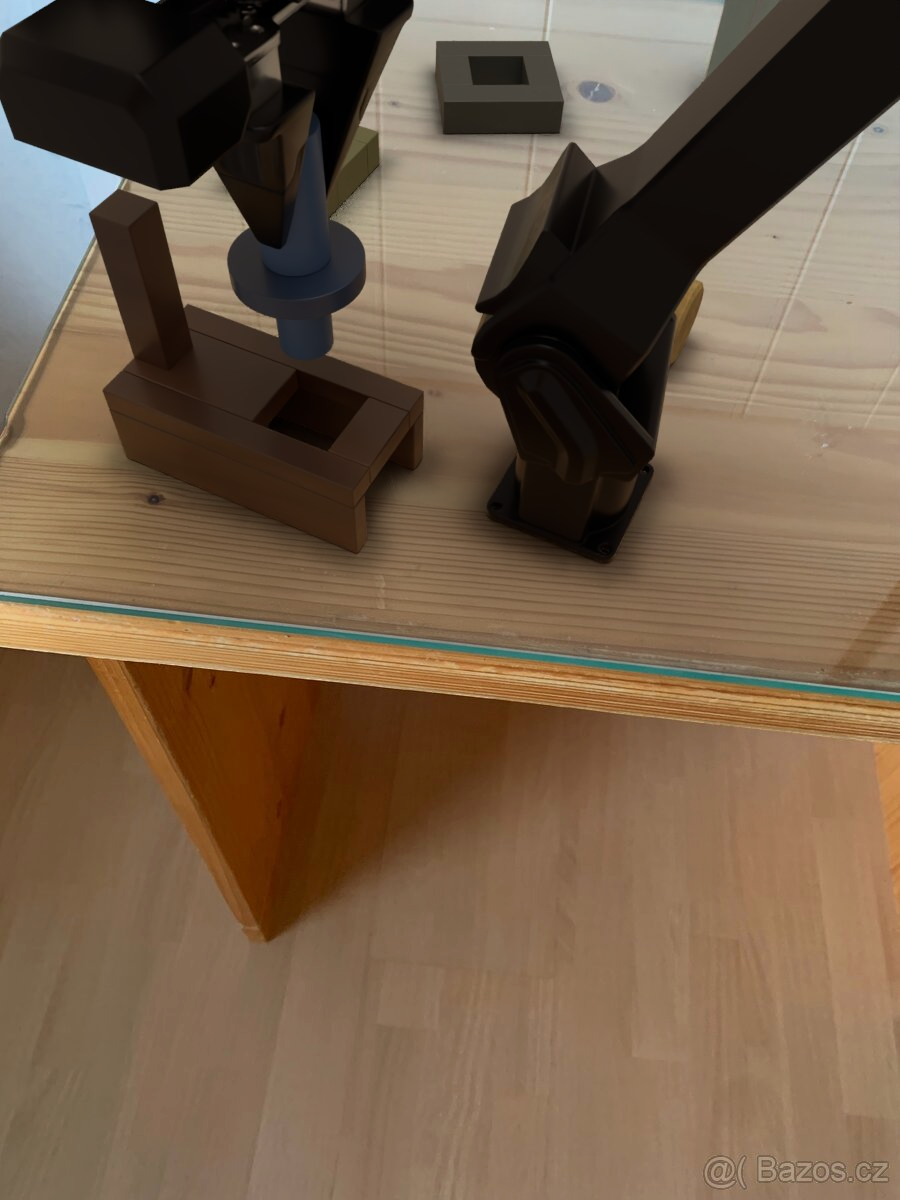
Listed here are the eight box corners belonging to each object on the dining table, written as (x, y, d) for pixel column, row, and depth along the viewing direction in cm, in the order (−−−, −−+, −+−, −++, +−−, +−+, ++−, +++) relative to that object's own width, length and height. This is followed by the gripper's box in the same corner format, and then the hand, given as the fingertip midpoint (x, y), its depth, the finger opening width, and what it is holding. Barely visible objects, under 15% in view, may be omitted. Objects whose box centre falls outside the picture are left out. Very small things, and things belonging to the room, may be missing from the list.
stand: (357, 554, 43) (341, 353, 33) (125, 457, 46) (47, 245, 36) (423, 457, 47) (426, 249, 37) (204, 372, 50) (152, 158, 40)
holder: (560, 133, 64) (564, 100, 62) (443, 133, 63) (444, 101, 61) (544, 72, 68) (548, 40, 66) (435, 72, 68) (436, 40, 66)
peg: (365, 388, 40) (353, 170, 32) (235, 383, 40) (188, 164, 32) (373, 303, 43) (364, 85, 35) (252, 299, 43) (214, 79, 35)
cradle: (326, 221, 57) (323, 188, 56) (229, 188, 59) (223, 155, 57) (380, 164, 61) (379, 131, 59) (287, 134, 62) (283, 102, 61)
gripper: (184, -429, 30) (252, 65, 43) (-311, -285, 21) (-34, 293, 34) (492, -377, 28) (467, 131, 41) (89, -186, 18) (223, 397, 31)
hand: (293, 223), depth 37 cm, fingers closed on peg, 3 cm apart
